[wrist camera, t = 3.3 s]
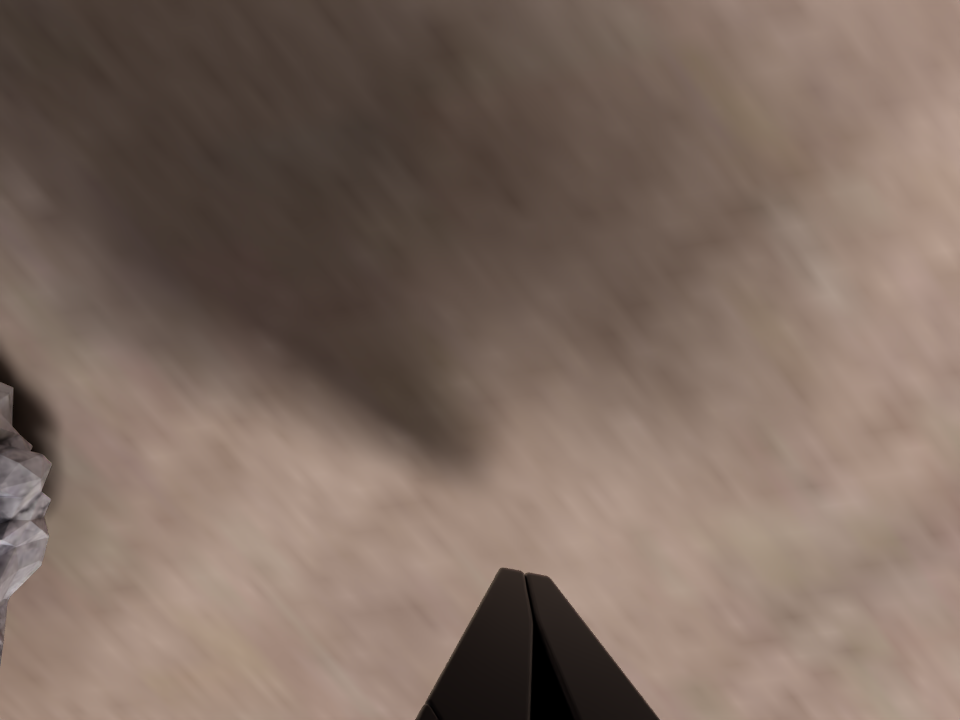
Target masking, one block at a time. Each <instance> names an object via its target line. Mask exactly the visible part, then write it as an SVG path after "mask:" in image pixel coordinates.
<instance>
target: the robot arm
mask: <svg viewBox="0 0 960 720" xmlns="http://www.w3.org/2000/svg"><path fill="white" fill-rule="evenodd" d="M415 720H660V719H659V718H658V717H657V715H656V714H655V713H654V711H653V710H652V709H651V708H650V706H649V705H648V704H647V702H646V701H645V700H644V699H643V697H642V696H641V695H640V693H639V692H638V691H637V690H636V688H635V687H634V686H633V684H632V683H631V682H630V680H629V679H628V678H627V677H626V675H625V674H624V673H623V671H622V670H621V669H620V668H619V666H618V665H617V664H616V662H615V661H614V660H613V659H612V657H611V656H610V655H609V653H608V652H607V651H606V649H605V648H604V647H603V646H602V644H601V643H600V642H599V640H598V639H597V638H596V637H595V635H594V634H593V633H592V631H591V630H590V629H589V628H588V626H587V625H586V624H585V622H584V621H583V620H582V618H581V617H580V616H579V615H578V613H577V612H576V611H575V609H574V608H573V607H572V606H571V604H570V603H569V602H568V600H567V599H566V598H565V597H564V595H563V594H562V593H561V591H560V590H559V589H558V587H557V586H556V585H555V584H554V582H553V581H552V580H551V579H550V578H549V577H548V576H544V575H539V574H534V573H526V574H525V575H524V573H523V572H522V571H519V570H514V569H508V568H500V569H499V571H498V572H497V574H496V576H495V578H494V580H493V581H492V583H491V585H490V587H489V589H488V590H487V592H486V594H485V596H484V598H483V599H482V601H481V603H480V605H479V607H478V609H477V610H476V612H475V614H474V616H473V618H472V619H471V621H470V623H469V625H468V627H467V628H466V630H465V632H464V634H463V636H462V637H461V639H460V641H459V643H458V645H457V646H456V648H455V650H454V652H453V654H452V655H451V657H450V659H449V661H448V663H447V664H446V666H445V668H444V670H443V672H442V673H441V675H440V677H439V679H438V681H437V682H436V684H435V686H434V688H433V690H432V691H431V693H430V695H429V697H428V699H427V700H426V702H425V705H424V706H423V707H422V709H421V710H420V712H419V714H418V716H417V718H416V719H415Z"/></svg>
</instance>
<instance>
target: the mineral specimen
mask: <svg viewBox="0 0 960 720" xmlns="http://www.w3.org/2000/svg"><path fill="white" fill-rule="evenodd" d="M12 414H13V387H11V386H9V385H6V384H4V383H2V382H0V664H1V656H2V649H3V641H4V632H5V622H6V612H7V603H8V600H9V598H10V596H11V595H12V594H13V593H14V592H15V591H16V590H17V589H18V588H19V587H20V586H21V585H22V584H23V583H24V582H25V581H26V580H27V579H28V578H29V577H30V576H31V575H32V574H33V573H34V572H35V571H36V570H37V569H38V568H39V567H40V566H41V565H42V561H43V557H44V554H45V550H46V546H47V543H48V539H49V534H48V530H47V526H46V522H45V518H44V516H45V513H46V511H47V508H48V506H49V503H50V501H51V499H50V498H49V497H48V496H47V495H45V494H44V493H43V492H42V488H43V486H44V483H45V481H46V478H47V476H48V473H49V471H50V468H51V466H52V463H51V462H50V461H49V460H48V459H47V458H46V457H45V456H44V455H43V454H40V453H36V452H32V451H31V449H32V447H33V446H32V445H31V444H30V443H29V442H28V441H26V440H25V439H24V438H23V437H22V436H21V435H20V434H19V433H18V432H17V431H16V430H15V429H14V428H13V426H12Z"/></svg>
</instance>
